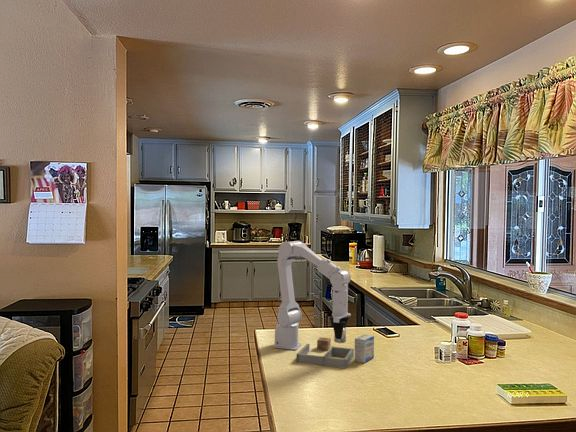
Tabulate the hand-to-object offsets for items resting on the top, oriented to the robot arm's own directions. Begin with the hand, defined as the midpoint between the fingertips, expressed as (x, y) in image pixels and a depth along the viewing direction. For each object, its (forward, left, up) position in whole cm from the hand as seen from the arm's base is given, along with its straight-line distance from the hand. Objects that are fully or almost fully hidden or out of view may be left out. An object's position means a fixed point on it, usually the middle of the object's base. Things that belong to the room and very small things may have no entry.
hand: (339, 337), depth 175 cm
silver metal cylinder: (0, 0, -2) cm, 2 cm away
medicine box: (+9, +3, -9) cm, 13 cm away
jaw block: (-9, +10, -9) cm, 16 cm away
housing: (-5, -2, -8) cm, 10 cm away
